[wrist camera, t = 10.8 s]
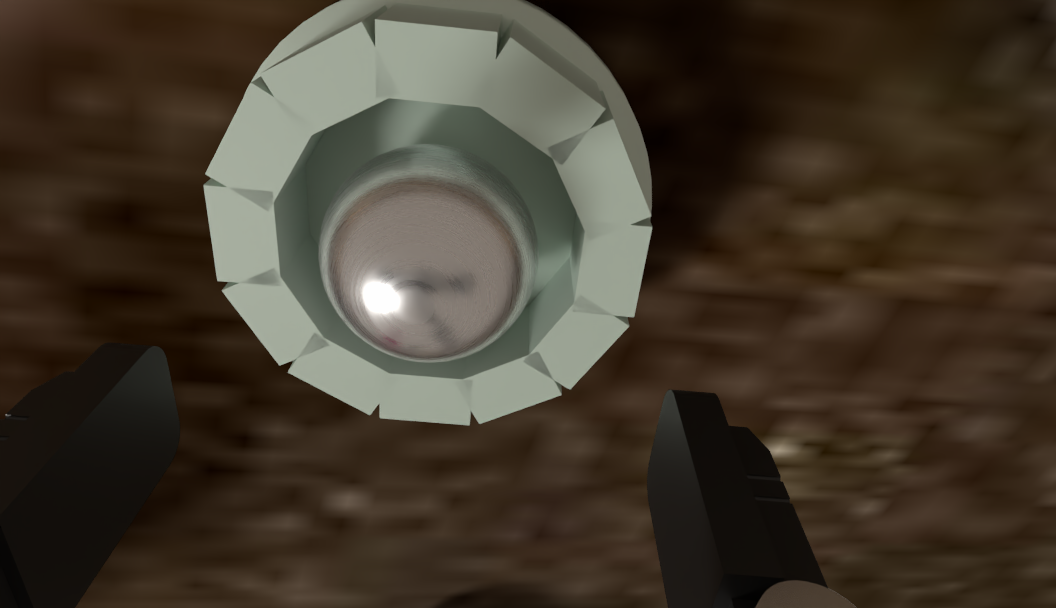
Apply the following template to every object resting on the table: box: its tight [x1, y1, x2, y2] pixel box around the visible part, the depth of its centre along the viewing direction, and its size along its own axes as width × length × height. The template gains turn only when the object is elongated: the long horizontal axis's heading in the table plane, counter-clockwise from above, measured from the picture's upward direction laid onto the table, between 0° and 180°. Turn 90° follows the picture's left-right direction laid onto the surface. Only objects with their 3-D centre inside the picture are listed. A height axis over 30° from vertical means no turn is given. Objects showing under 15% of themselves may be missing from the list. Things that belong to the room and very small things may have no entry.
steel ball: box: [318, 144, 539, 363], centre depth 16 cm, size 5×5×5 cm
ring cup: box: [204, 0, 652, 425], centre depth 18 cm, size 11×11×4 cm
